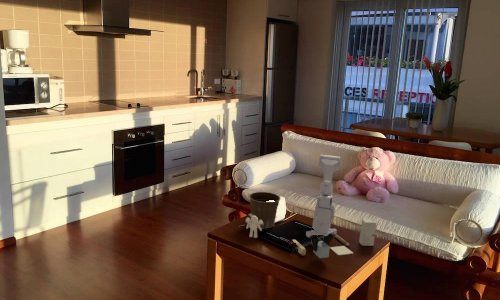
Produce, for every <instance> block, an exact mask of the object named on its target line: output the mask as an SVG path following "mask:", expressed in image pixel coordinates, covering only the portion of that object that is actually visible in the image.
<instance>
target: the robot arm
mask: <svg viewBox="0 0 500 300" xmlns="http://www.w3.org/2000/svg"><path fill="white" fill-rule="evenodd" d="M318 159H319V160H318V167H319V169H320V170H322V171H323V181H322V182H321V183H320V184H319V185H320V187H319V192H318V193H319V194H318V195H317V198H316V199H317V200H316V203H315V207H314V218H313V220H312V227H311V230H309V231H308V230H307V231H306V232H305V236H306V237H307V238H309V239H311V241H312V245H313V246H312V245H311V246H312V250H314V251H315V252H316V251H317V246H318V242H319V241H320V239H319V238H318V237H317V236H318V235H323V239H322V241H324V242H325V243H326V244H327V245H328V246H329V245H330V243H331V242H332V241H333V239H334V235H338V234H337V233H338V232H337V231H338V229H336V228H331V224H332V221H333V220H335V213H336V212H335V210H336V205H335V203H333V200H334V198H333V191H334V184H333V175H334V172H337V171H339V169H340V167H341V157H340V155H338V156H336V155H328V154H327V155H326V154H320V155H319V158H318ZM312 228H313V229H314V230H312Z"/></svg>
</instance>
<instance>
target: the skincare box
mask: <svg viewBox="0 0 500 300" xmlns="http://www.w3.org/2000/svg"><path fill="white" fill-rule="evenodd" d="M376 227H377V222H376V221H375V220H374V219H361V226H360V231H359V232H360V234H359V241H358V242H359V244H360V245H361V246H365V247H366V246H369V247H371V246H374V244H375V237H376V230H377V228H376Z"/></svg>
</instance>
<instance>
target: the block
mask: <svg viewBox="0 0 500 300" xmlns="http://www.w3.org/2000/svg"><path fill="white" fill-rule="evenodd" d="M330 247H331V246H329V245H327V244H326V243H325V242H324V241H323V240H319V242H318V246H317V251H316V252H315V251H314V250H313V249H312V250H313V251H312V252H313V253H314V254H315V255H316V256H317V257H318V258H319V259H325V258H329V257H330V250H331V249H330Z"/></svg>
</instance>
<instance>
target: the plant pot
mask: <svg viewBox="0 0 500 300" xmlns="http://www.w3.org/2000/svg"><path fill="white" fill-rule="evenodd" d="M248 198H249V202H250V203H249V204H250V214H251V215H252V216H257V218H258V222H259V220H261V219H262V221H263V225H262V224H259V225H260V227H261V228H262V229H266V230H268V229H267V228H271V227H273V226H274V227H275V223H276V217H277V212H278V211H277V210H278V207H279V203H280V200H281V196H280V195H278V194H276V193H272V192H268V191H256V192H252V193H251V194H249V197H248ZM269 200H274V201H275V202H266V201H269ZM274 227H273V228H274ZM257 230H259V228H258V226H257Z"/></svg>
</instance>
